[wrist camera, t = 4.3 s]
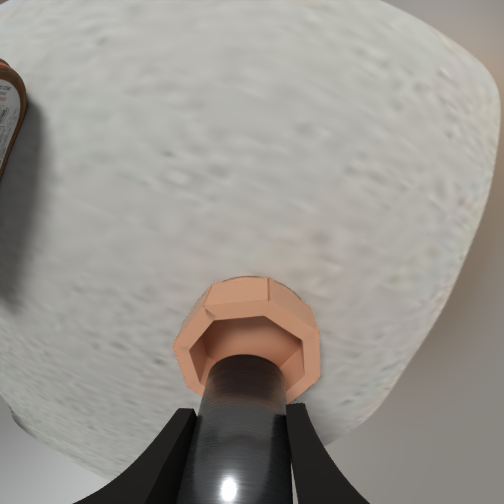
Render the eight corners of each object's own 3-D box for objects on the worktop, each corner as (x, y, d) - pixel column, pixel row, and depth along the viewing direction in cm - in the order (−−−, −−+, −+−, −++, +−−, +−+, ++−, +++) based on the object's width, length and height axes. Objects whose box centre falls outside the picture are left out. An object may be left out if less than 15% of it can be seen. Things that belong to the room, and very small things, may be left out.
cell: (287, 405, 12) (295, 559, 4) (216, 408, 12) (188, 555, 5) (282, 350, 11) (294, 544, 3) (199, 355, 11) (146, 532, 4)
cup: (313, 370, 17) (320, 403, 14) (205, 379, 17) (197, 411, 14) (307, 268, 15) (317, 292, 12) (177, 283, 15) (160, 308, 12)
